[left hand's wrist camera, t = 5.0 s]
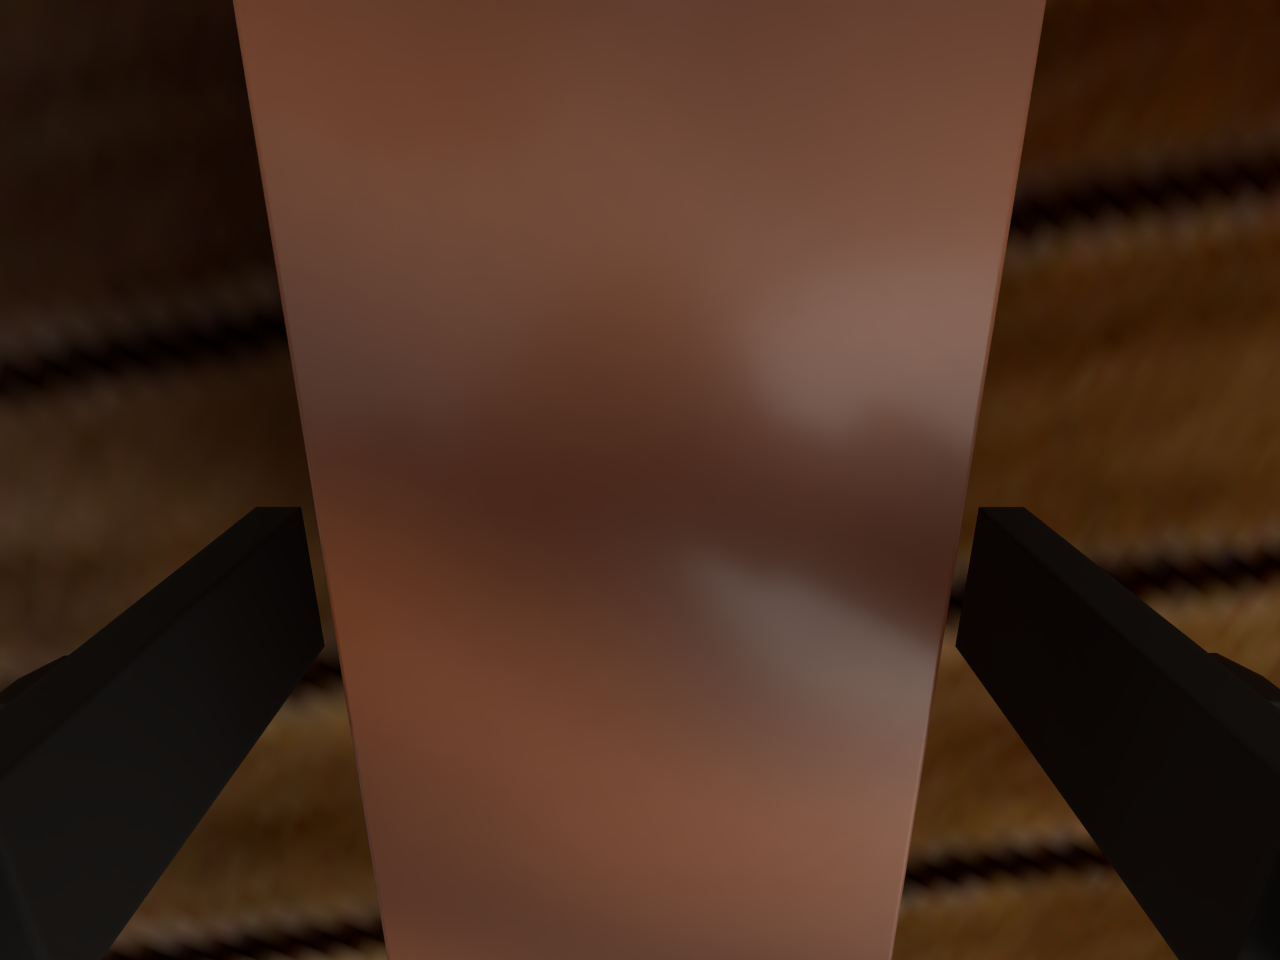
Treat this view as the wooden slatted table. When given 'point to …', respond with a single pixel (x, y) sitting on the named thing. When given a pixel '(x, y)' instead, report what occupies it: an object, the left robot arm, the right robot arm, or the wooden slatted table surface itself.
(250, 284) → the wooden slatted table surface
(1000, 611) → the left robot arm
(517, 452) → the cabinet
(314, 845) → the wooden slatted table surface
